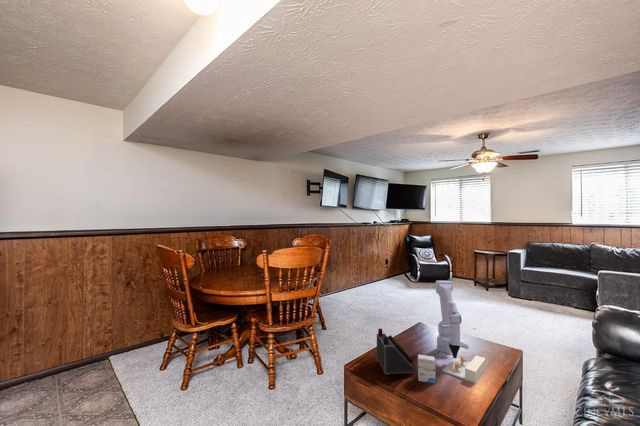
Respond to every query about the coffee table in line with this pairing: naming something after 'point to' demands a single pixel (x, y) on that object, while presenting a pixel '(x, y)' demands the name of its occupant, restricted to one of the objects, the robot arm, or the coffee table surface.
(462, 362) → the knob
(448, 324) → the robot arm
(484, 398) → the coffee table surface
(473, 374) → the panel mount
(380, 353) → the dark wedge stand
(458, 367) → the knob
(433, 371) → the ink box
